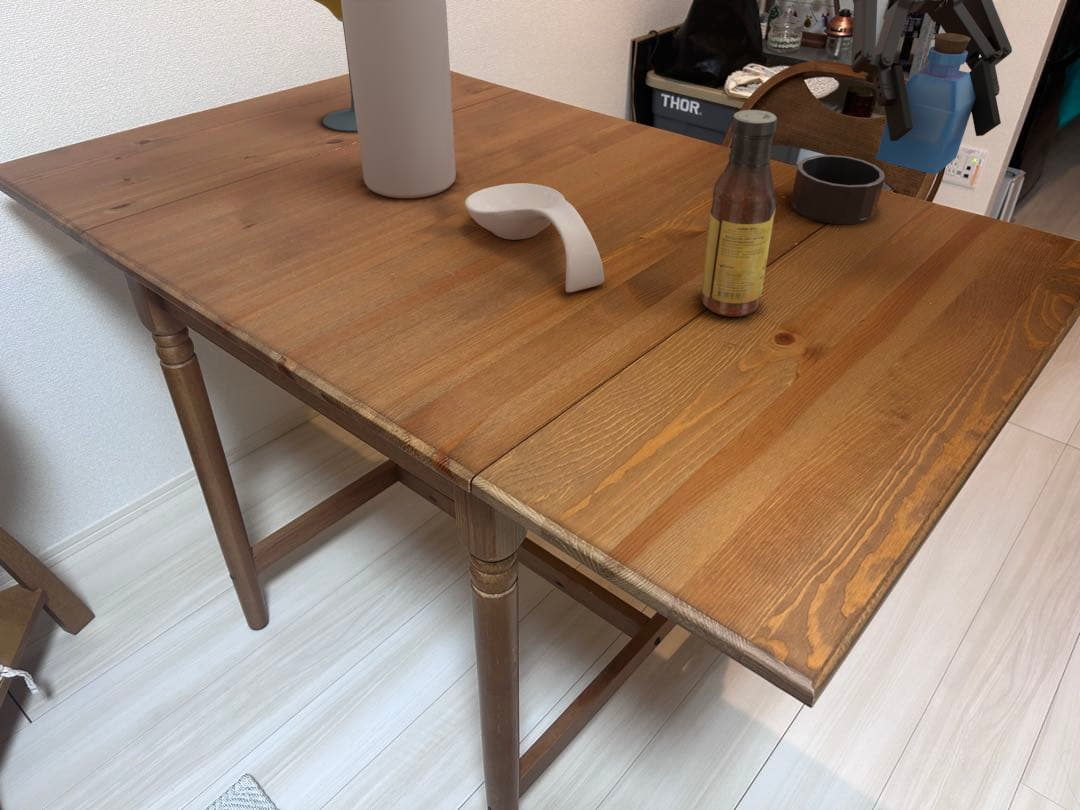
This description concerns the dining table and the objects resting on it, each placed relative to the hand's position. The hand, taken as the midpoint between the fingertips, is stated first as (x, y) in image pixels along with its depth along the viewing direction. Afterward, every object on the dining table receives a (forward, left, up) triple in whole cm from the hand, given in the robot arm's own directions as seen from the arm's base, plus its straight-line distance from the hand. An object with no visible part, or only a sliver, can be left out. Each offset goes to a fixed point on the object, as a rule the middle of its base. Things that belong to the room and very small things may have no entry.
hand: (945, 132), depth 81 cm
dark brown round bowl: (+7, -19, -17) cm, 26 cm away
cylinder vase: (+63, -11, -17) cm, 66 cm away
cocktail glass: (+81, -32, -17) cm, 89 cm away
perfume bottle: (+1, -3, -4) cm, 5 cm away
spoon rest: (+41, +3, -17) cm, 45 cm away
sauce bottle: (+18, +10, -17) cm, 27 cm away
